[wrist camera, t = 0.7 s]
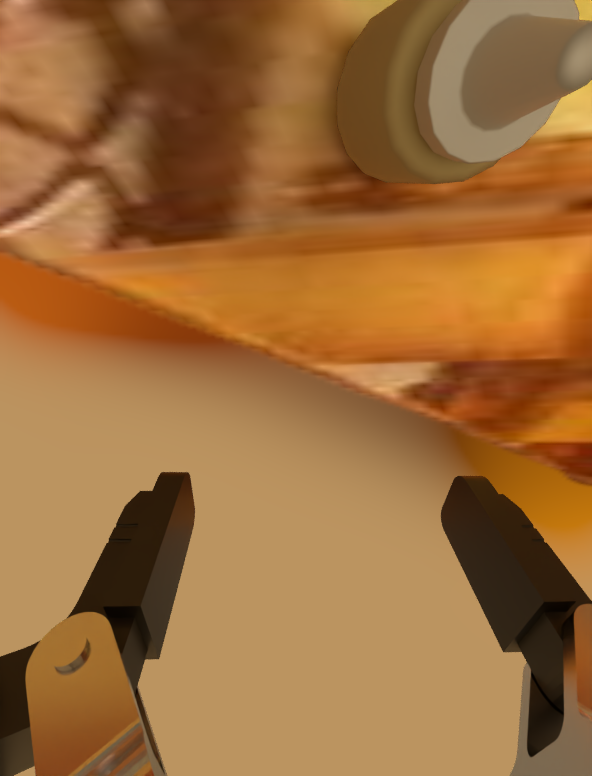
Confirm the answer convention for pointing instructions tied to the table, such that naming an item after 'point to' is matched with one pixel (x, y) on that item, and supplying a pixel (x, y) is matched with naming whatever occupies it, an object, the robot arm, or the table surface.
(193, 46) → the table surface
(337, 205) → the table surface
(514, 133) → the squeeze bottle
